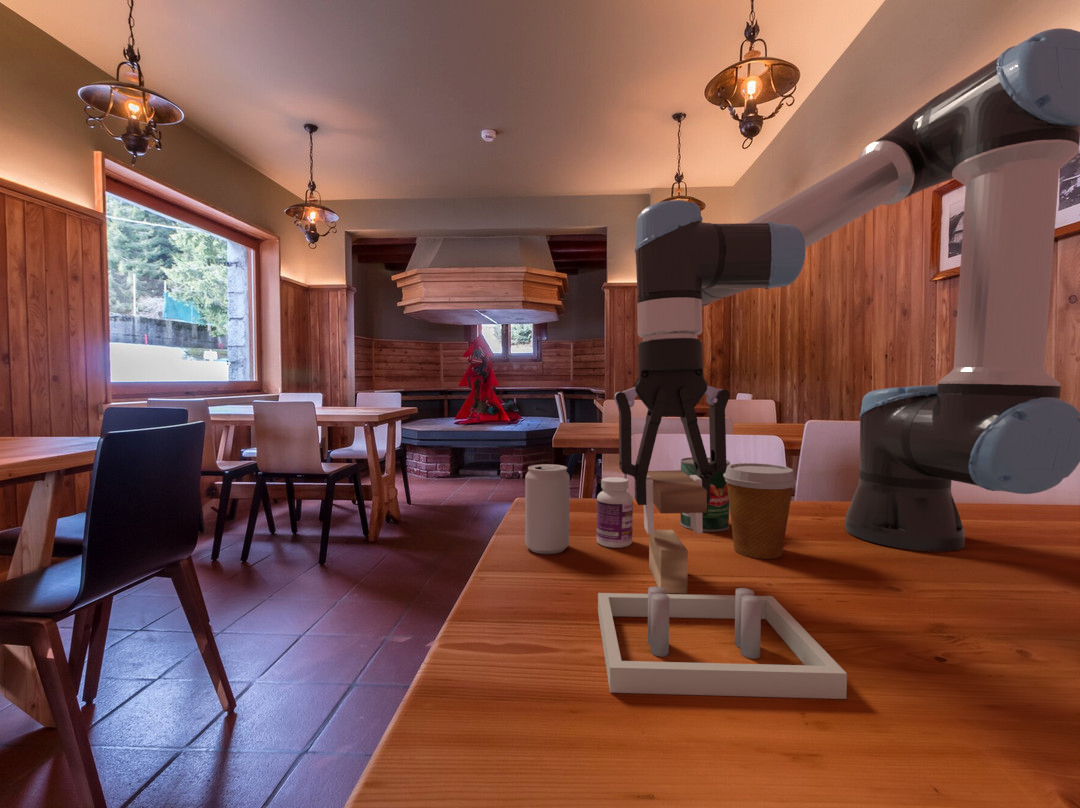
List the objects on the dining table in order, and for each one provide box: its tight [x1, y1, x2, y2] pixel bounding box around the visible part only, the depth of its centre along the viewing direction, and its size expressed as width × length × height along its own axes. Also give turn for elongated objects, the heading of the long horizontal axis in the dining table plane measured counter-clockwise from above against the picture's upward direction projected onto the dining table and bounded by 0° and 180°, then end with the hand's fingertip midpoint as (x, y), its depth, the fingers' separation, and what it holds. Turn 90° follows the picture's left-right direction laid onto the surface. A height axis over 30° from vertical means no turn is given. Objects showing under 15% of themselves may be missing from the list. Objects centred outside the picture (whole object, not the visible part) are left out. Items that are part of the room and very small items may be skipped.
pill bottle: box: [596, 476, 634, 549], centre depth 76 cm, size 5×5×10 cm
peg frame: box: [597, 585, 848, 700], centre depth 46 cm, size 18×14×5 cm
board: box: [647, 469, 707, 514], centre depth 62 cm, size 12×5×2 cm, turn 177°
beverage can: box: [524, 463, 571, 555], centre depth 74 cm, size 6×6×12 cm
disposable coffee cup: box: [723, 462, 798, 560], centre depth 72 cm, size 10×10×12 cm
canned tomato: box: [679, 456, 731, 533], centre depth 86 cm, size 8×8×11 cm
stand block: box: [648, 529, 689, 595], centre depth 62 cm, size 3×8×5 cm, turn 177°
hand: (672, 530), depth 62 cm, fingers closed on board, 5 cm apart
